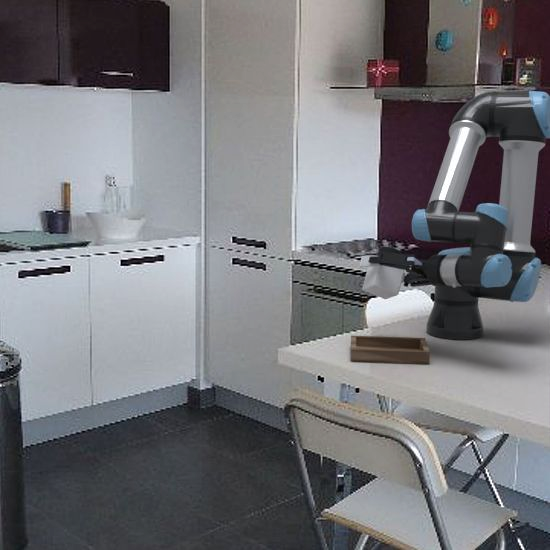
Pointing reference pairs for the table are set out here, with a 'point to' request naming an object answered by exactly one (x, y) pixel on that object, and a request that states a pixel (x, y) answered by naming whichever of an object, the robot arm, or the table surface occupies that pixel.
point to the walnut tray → (389, 350)
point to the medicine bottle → (383, 278)
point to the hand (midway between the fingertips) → (372, 269)
